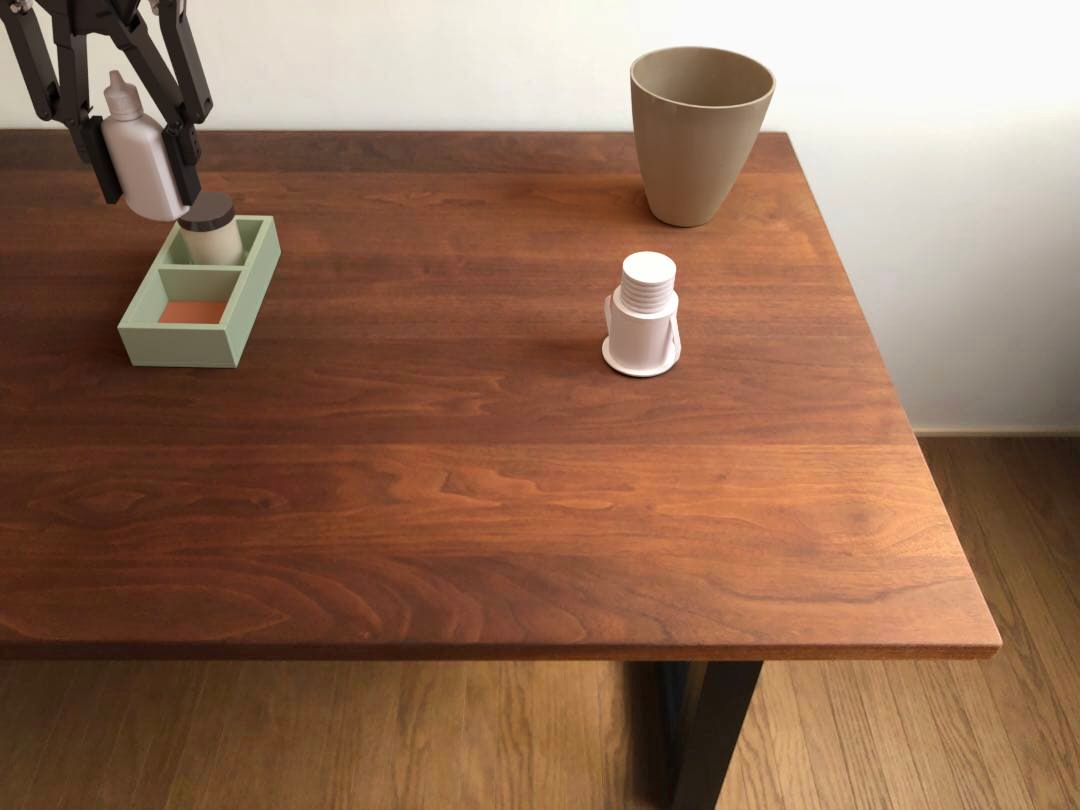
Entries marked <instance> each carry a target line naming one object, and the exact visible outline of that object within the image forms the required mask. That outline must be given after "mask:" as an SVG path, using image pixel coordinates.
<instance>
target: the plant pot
mask: <svg viewBox="0 0 1080 810" xmlns="http://www.w3.org/2000/svg"><path fill="white" fill-rule="evenodd" d="M629 80H630V82H629V84H630V101H631V119H632V126H633V135H634V142H635V143H634V144H635V150H636V155H637V161H638V166H639V170H640V176H641V180H642V184H643V188H644V191H645V196H646V199H647V202H648V205H649V209H650V211H651V214H652V215H653V216H654V217H655V218H656V219H657V220H660V221H661V222H663V223H666V224H669V225H671V226H675V227H683V228H684V227H686V228H690V227H692V228H693V227H699V226H702V225H704V224H707V223H708V222H710V221H711V220H712V219H714V217H715V215H716V213H717V212H718V210H719V209H720V208H721V206H722V205H723V203H724V201H725V200H726V198H727V196H728V195H729V193H730V191H731V190H732V188H733V186H734V184H735V183H736V181H737V179H738V178H739V175H740V174H741V171H742V169H743V168H744V166H745V164H746V161H747V160H748V158H749V155H750V153H751V151H752V149H753V147H754V145H755V143H756V140H757V138H758V135H759V133H760V131H761V128H762V126H763V124H764V120H765V118H766V115H767V112H768V110H769V107H770V104H771V102H772V98H773V95H774V93H775V91H776V87H777V78H776V76H775V74H774V73H773V72H772V70H771V69H770V68H769V67H768V66H766V65H764V64H763V63H762V62H761V61H759V60H756V59H755V58H753V57H751V56H748V55H745V54H743V53H740V52H737V51H733V50H730V49H725V48H720V47H711V46H703V45H678V46H670V47H664V48H659V49H658V48H657V49H655V50H652V51H649V52H646V53H644V54H642V55H641V56H638V57H637V58H636V59H635V60H634V61H633V62H632V63H631V65H630V67H629Z"/></svg>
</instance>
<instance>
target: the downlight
mask: <svg viewBox="0 0 1080 810" xmlns="http://www.w3.org/2000/svg"><path fill="white" fill-rule="evenodd" d="M621 272H622V273H621V282H620V284H619V285H618V286H617V287H616V288H615V290H613V294H609V295H608V296H607V297H606V298H605V299H604V306H603V314H604V318H605V323H606V327H607V332H608V335H607V336H606V337H605V338H604V340H603V342H602V347H601V352H602V356H603V359H604V360H605V361H606V363H607V364H608V365H609V366H610V367H611V368H613V369H614V370H616V371H617V372H620V373H621V374H624V375H627V376H632V377H641V378H645V377H654V376H658V375H661V374H663V373H665V372H667V371H668V370H669V369H671V368H672V366H674V365H675V364H676V362H678V360H680V357H681V351H682V344H681V338H680V332H679V327H678V321H677V320H678V319H677V314H678V308H679V307H678V306H679V296H678V294H677V292H676V291H675V290H674V287H675V279H676V272H677V266H676V263H675V262H674V260H672V259H671V258H670V257H669V256H667V255H665V254H663V253H661V252H657V251H656V252H655V251H639V252H635V253H632V254H629V255H627V257H625V259H624V261H623V263H622V271H621ZM611 296H613V297H612V307H611V308H610V306H611V305H610V304H611Z"/></svg>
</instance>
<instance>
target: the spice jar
mask: <svg viewBox="0 0 1080 810" xmlns="http://www.w3.org/2000/svg"><path fill="white" fill-rule="evenodd" d="M235 215H236V210H235V206H234V202H233V199H232V198H231V197H230V196H229V195H228V194H227V193H223V192H221V191H200V193H199V194H198V196H197V198H196V200H195V202H194V204H193V205H192V206H189V211H188V212H187V213H185V214H184V215H182V216H181V217H179V218H178V219H176V221H177V222H178V224H179V225H180V228H181V231H182V234H183V237H184V240H185V243H186V247H187V250H188V253H189V256H190V259H191V263H192V265H225V266H244V264H245V262H246V256H245V252H244V248H243V244H242V241H241V237H240V233H239V229H238V225H237V221H236V218H235Z"/></svg>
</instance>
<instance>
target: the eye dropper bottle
mask: <svg viewBox="0 0 1080 810" xmlns="http://www.w3.org/2000/svg"><path fill="white" fill-rule="evenodd" d="M108 75H109V86H107V87H105V88H104V90H103V96H104V99H105V102H106V105H107V107H108V111H109V114H110V115H108V116H106V117H105V118H103V121H102V123H101V132H102V135H103V138H104V141H105V144H106V147H107V150H108V153H109V155H110V158H111V161H112V164H113V167H114V169H115V172H116V175H117V178H118V181H119V183H120V186H121V189H122V192H123V194H122V196H123V198H124V201H125V203H126V204H127V206H128V207H129V209H130V210H132V211H133V213H134V214H137V215H138V216H139V217H142V218H145V219H147V220H151V221H157V222H165V223H167V222H174V221H177V219H178V218H179V217H181V216H182V215H184V214H185V213H187V212H188V211H189V206H183V204H182V200H181V197H180V194H179V191H178V187H177V184H176V181H175V178H174V174H173V171H172V168H171V165H170V161H169V158H168V155H167V152H166V148H165V145H164V142H163V139H162V135H161V132H162V131H163V129H164V128H165V127H163V126H162V125H161V124H160V123H159V121H158V120H156V119H155V118H153V117H152V116H150V115H149V114H147V113H146V112H145V110H144V107H143V104H142V101H141V97H140V94H139V91H138V88H137V86H136V85H135V84H133V83H130V82H126V81H125V79H124V78H123V76H122V74H121V72H120V71H119V70H117V69H112V70H110V71H109V72H108Z"/></svg>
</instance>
